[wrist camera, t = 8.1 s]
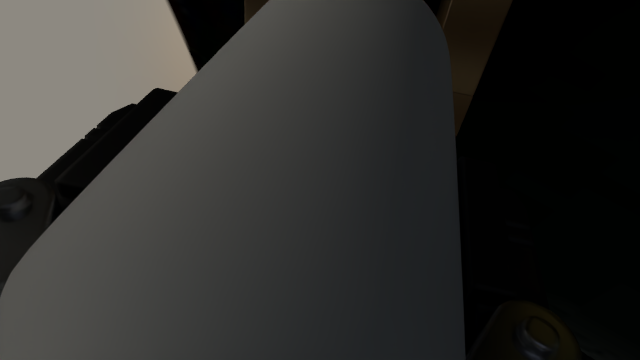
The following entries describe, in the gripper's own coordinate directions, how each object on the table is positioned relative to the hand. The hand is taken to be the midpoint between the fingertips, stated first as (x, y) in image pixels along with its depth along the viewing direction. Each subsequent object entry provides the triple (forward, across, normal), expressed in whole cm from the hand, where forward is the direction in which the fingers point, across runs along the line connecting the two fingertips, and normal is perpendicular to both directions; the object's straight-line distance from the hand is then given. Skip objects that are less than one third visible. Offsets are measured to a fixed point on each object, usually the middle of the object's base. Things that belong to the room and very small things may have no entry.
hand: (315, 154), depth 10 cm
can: (+5, 0, 0) cm, 5 cm away
